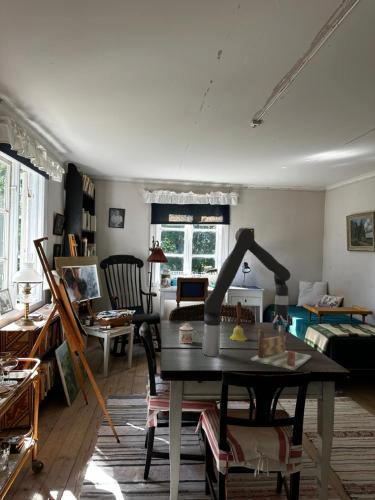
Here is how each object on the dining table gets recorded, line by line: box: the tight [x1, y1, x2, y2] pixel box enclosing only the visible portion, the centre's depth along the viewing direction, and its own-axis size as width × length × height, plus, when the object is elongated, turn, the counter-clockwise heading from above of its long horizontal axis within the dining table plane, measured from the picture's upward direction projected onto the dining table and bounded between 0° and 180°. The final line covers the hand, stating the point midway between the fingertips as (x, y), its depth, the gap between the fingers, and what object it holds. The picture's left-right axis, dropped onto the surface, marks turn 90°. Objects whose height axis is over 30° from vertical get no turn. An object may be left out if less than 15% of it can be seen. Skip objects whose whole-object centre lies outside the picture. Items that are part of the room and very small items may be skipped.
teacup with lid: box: [178, 323, 199, 344], centre depth 222 cm, size 12×9×12 cm
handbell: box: [229, 301, 248, 342], centre depth 234 cm, size 12×12×25 cm
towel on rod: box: [250, 328, 312, 371], centre depth 193 cm, size 24×28×16 cm
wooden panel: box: [263, 325, 287, 356], centre depth 198 cm, size 17×2×15 cm, turn 124°
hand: (281, 331), depth 201 cm, fingers open, 8 cm apart
